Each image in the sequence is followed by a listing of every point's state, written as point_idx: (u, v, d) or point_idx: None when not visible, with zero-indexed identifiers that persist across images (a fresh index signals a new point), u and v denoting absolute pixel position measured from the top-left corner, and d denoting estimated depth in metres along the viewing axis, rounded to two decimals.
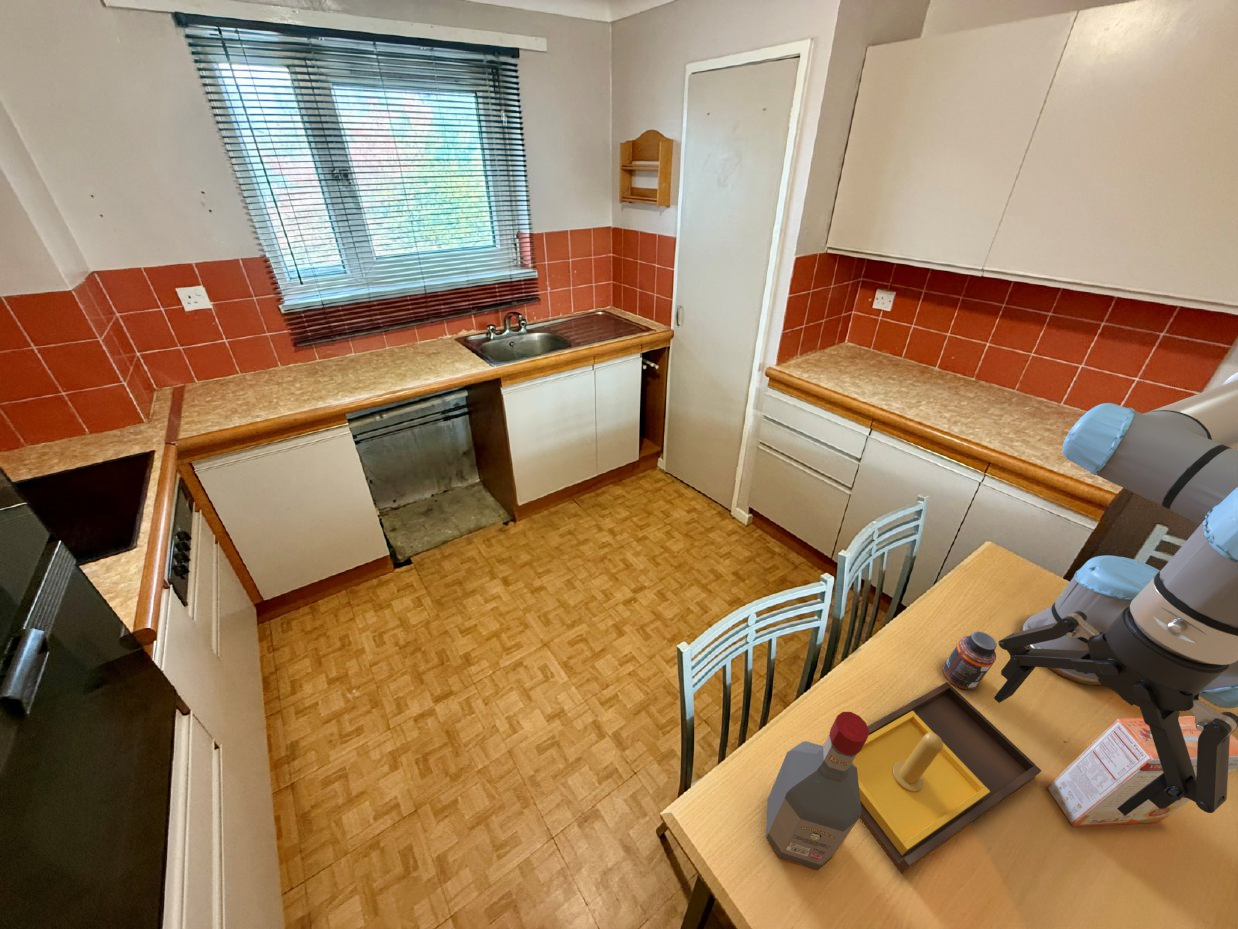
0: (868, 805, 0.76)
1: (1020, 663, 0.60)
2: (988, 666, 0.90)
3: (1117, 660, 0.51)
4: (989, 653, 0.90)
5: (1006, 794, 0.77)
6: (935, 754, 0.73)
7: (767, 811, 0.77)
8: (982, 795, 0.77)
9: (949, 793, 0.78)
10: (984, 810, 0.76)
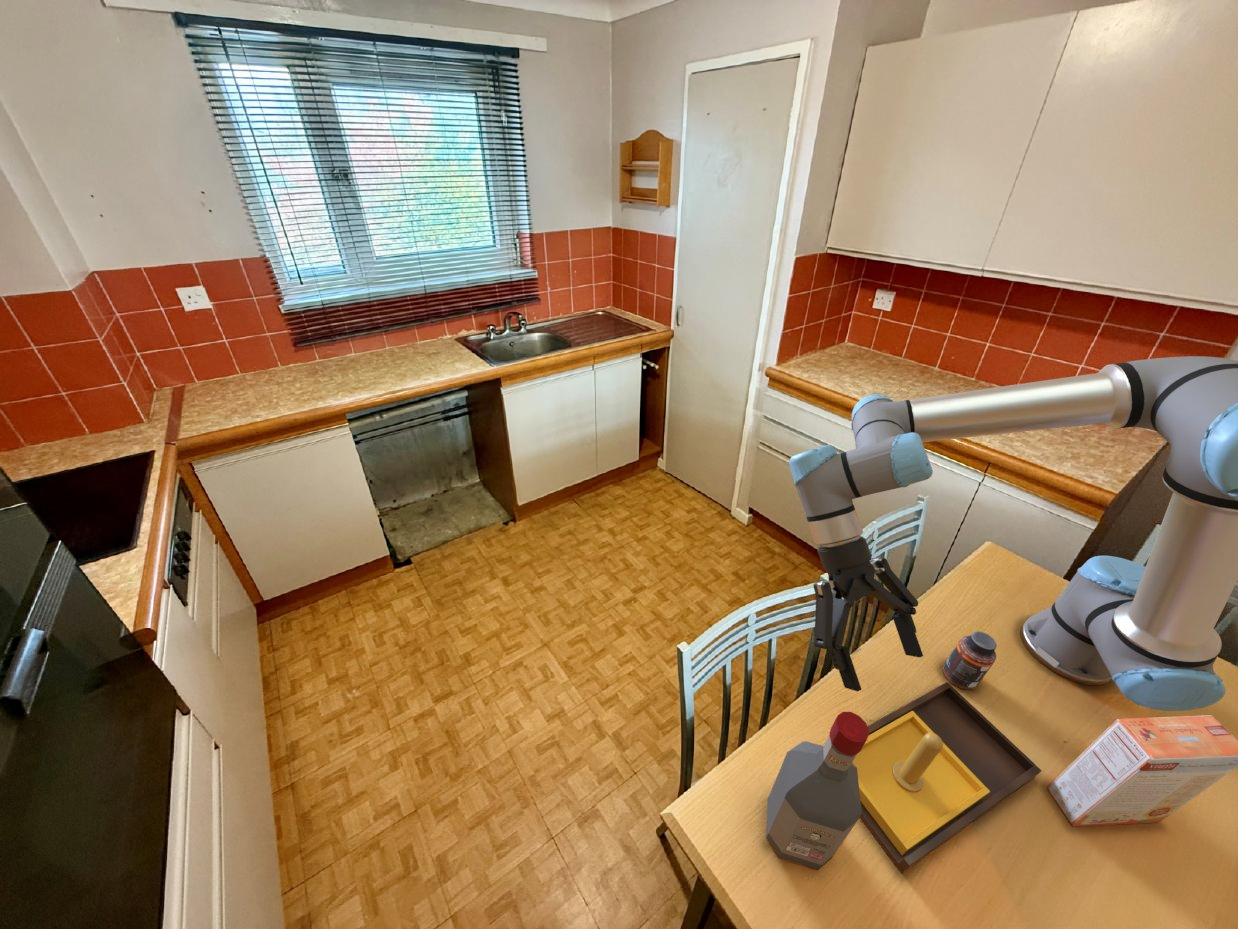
0: (868, 805, 0.76)
1: None
2: (988, 666, 0.90)
3: None
4: (989, 653, 0.90)
5: (1006, 794, 0.77)
6: (935, 754, 0.73)
7: (767, 811, 0.77)
8: (982, 795, 0.77)
9: (949, 793, 0.78)
10: (984, 810, 0.76)
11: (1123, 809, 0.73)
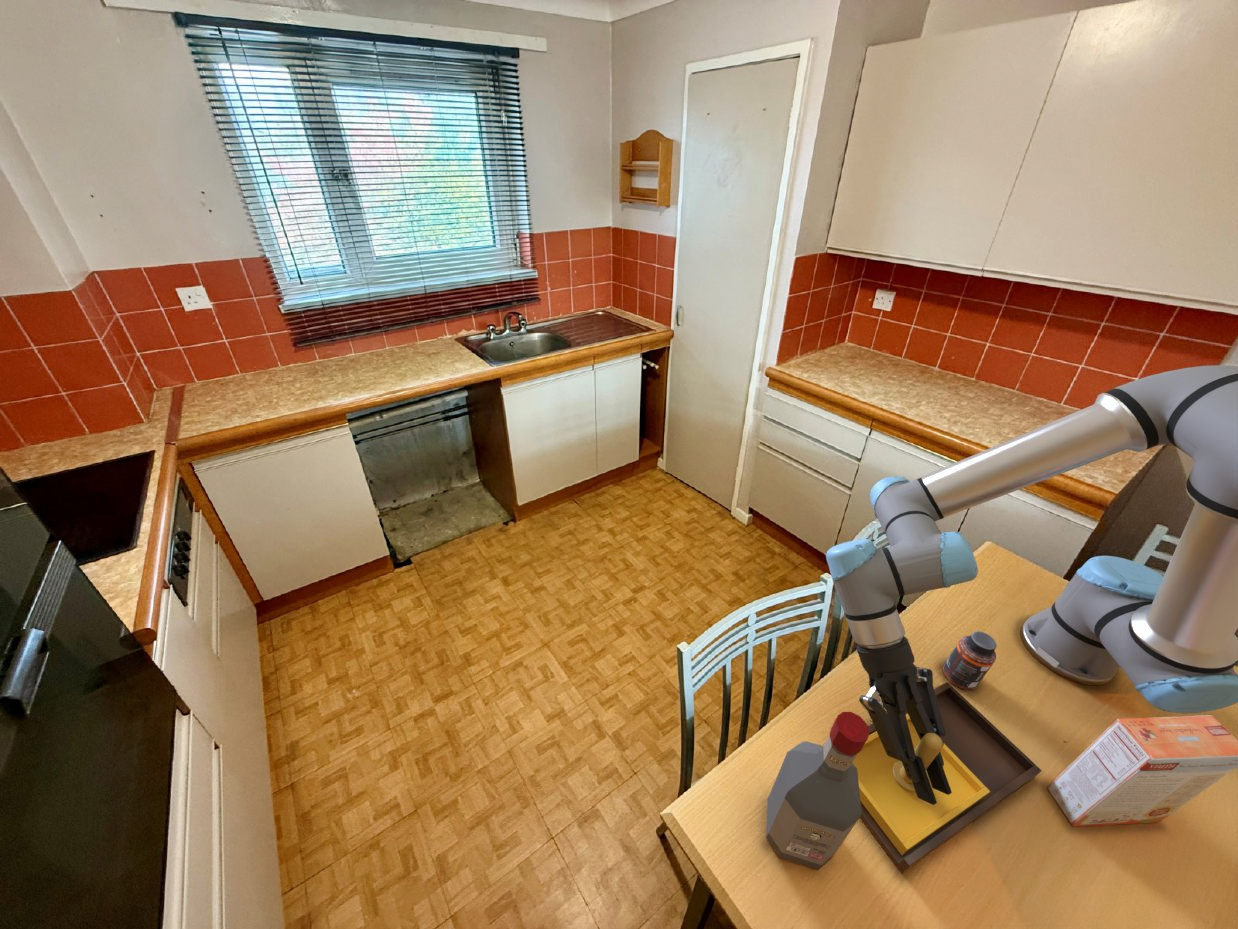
0: (868, 805, 0.76)
1: None
2: (988, 666, 0.90)
3: None
4: (989, 653, 0.90)
5: (1006, 794, 0.77)
6: (935, 754, 0.73)
7: (767, 811, 0.77)
8: (982, 795, 0.77)
9: None
10: (984, 810, 0.76)
11: (1123, 809, 0.73)
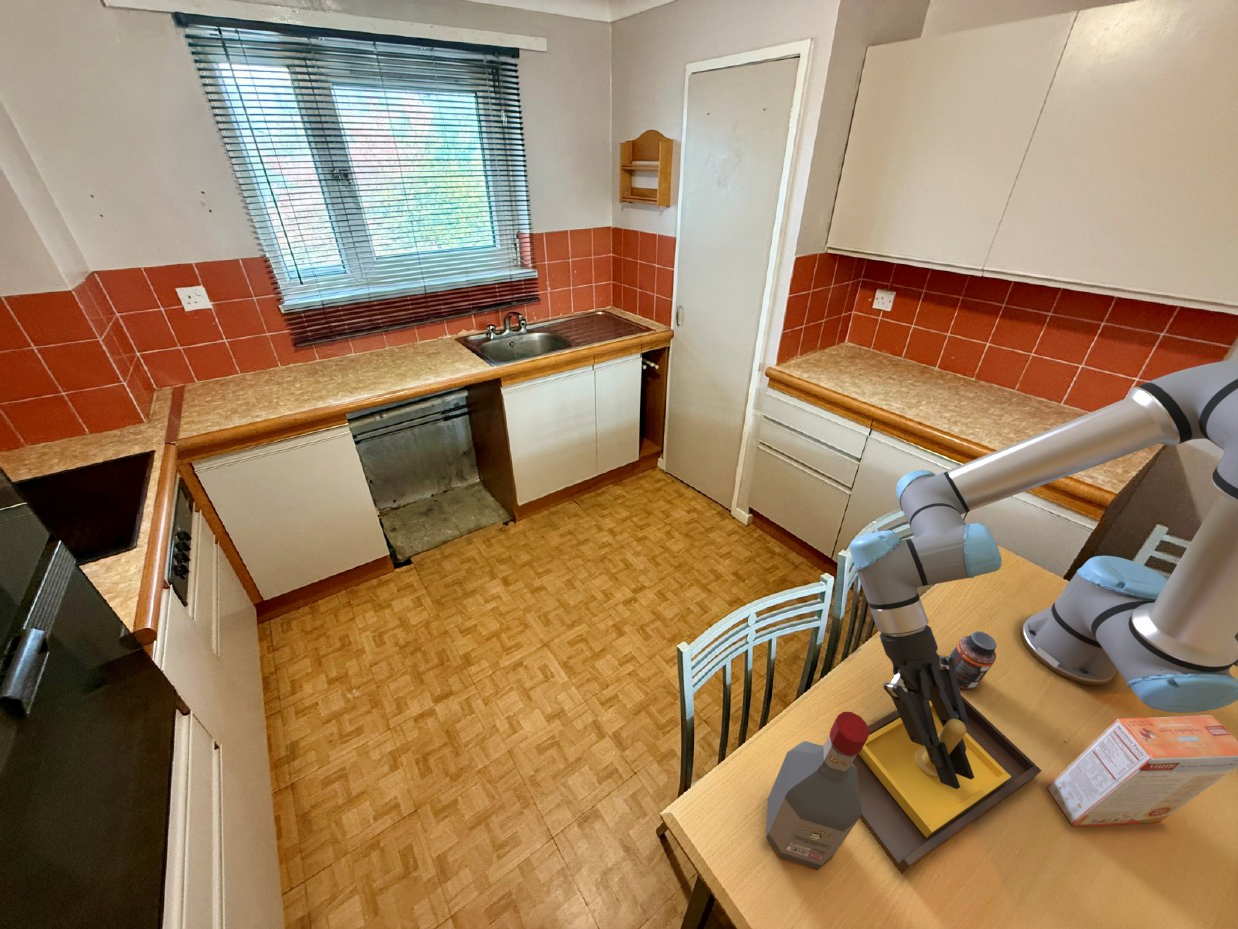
0: (892, 790, 0.78)
1: None
2: (988, 666, 0.90)
3: None
4: (989, 653, 0.90)
5: (1006, 794, 0.77)
6: (958, 739, 0.75)
7: (767, 811, 0.77)
8: (1003, 780, 0.78)
9: None
10: (984, 810, 0.76)
11: (1123, 809, 0.73)
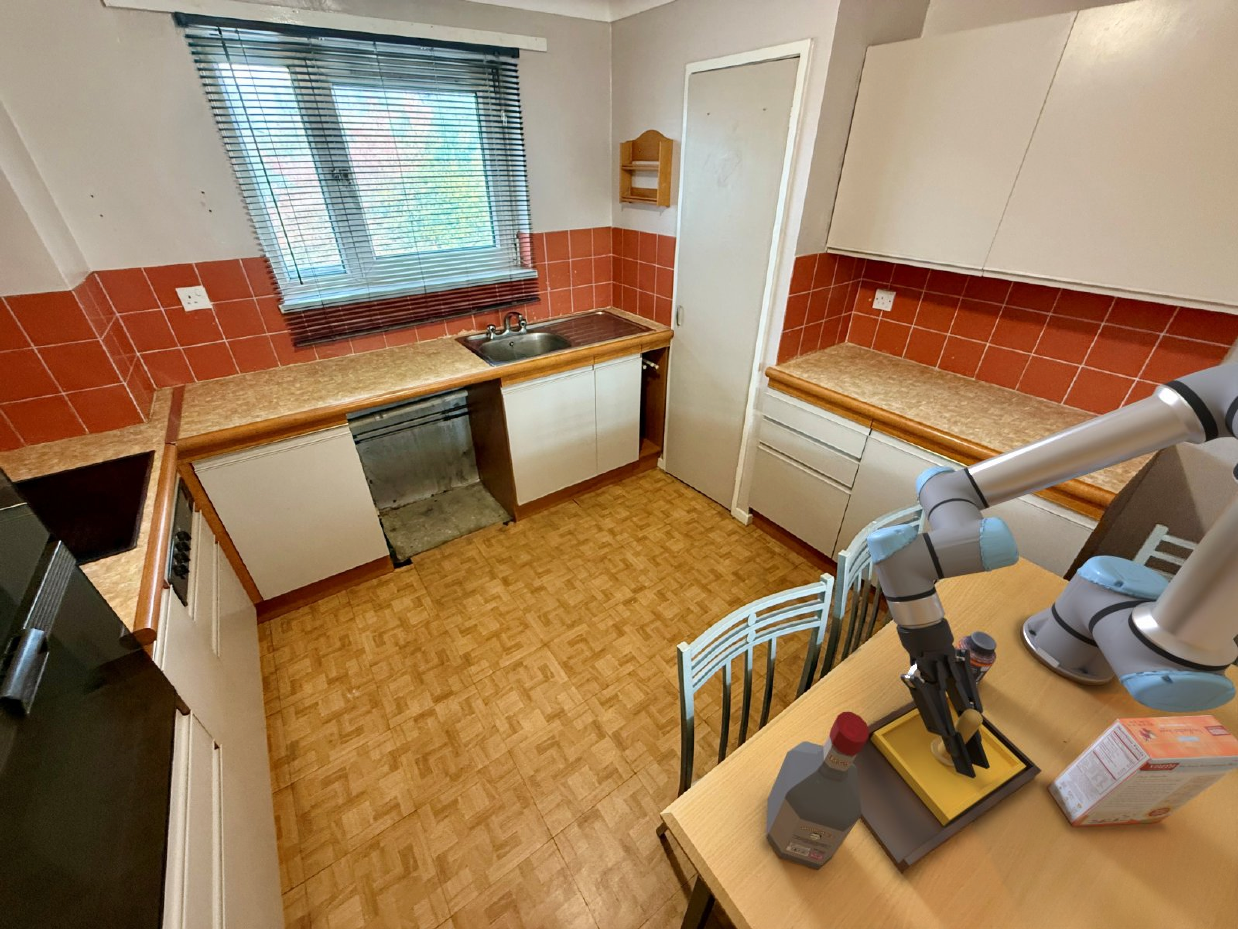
0: (909, 779, 0.79)
1: None
2: (988, 666, 0.90)
3: None
4: (989, 653, 0.90)
5: (1006, 794, 0.77)
6: (975, 729, 0.76)
7: (767, 811, 0.77)
8: (1018, 769, 0.80)
9: None
10: (984, 810, 0.76)
11: (1123, 809, 0.73)
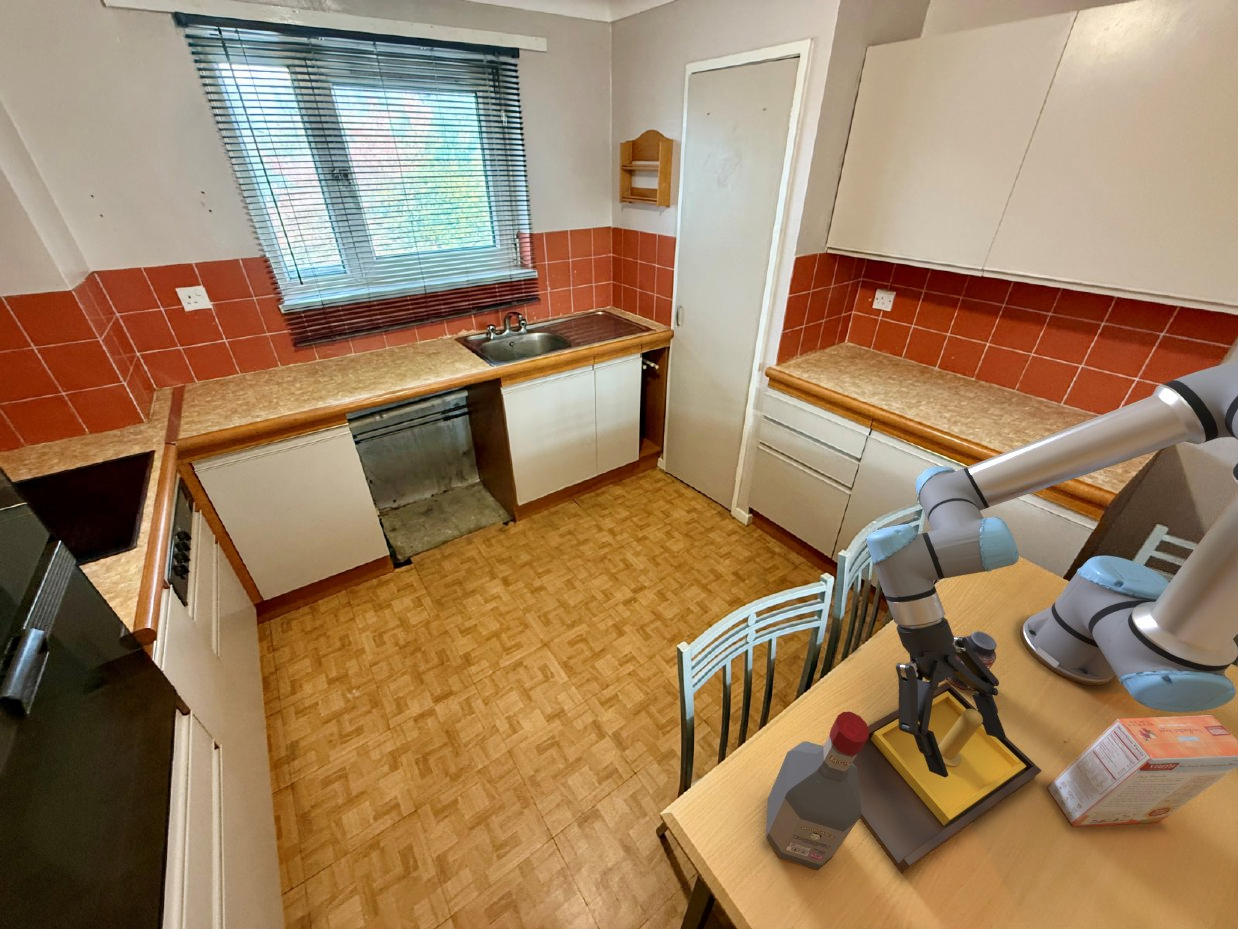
0: (909, 779, 0.79)
1: None
2: (988, 666, 0.90)
3: None
4: (989, 653, 0.90)
5: (1006, 794, 0.77)
6: (975, 729, 0.76)
7: (767, 811, 0.77)
8: (1019, 769, 0.80)
9: (986, 768, 0.81)
10: (984, 810, 0.76)
11: (1123, 809, 0.73)
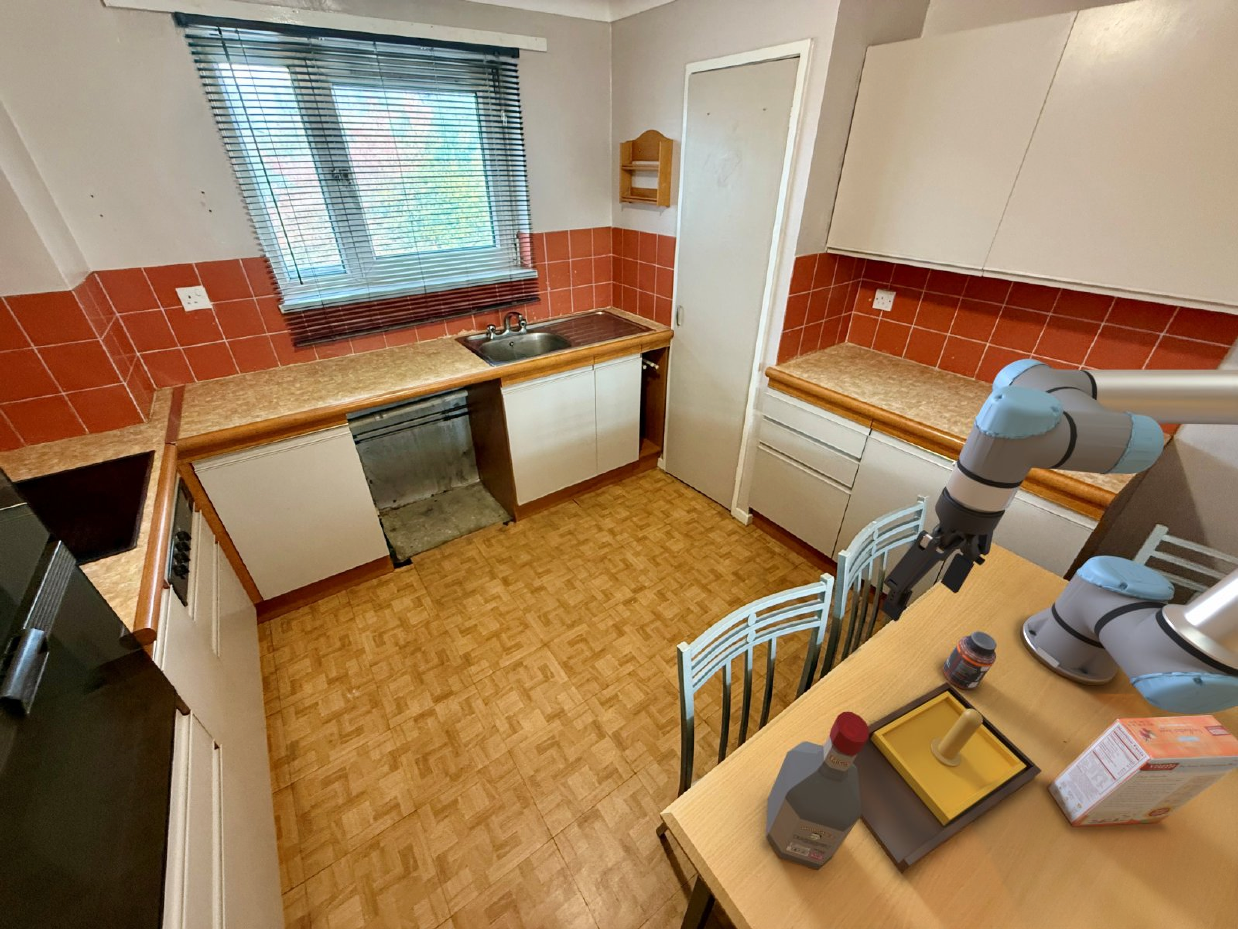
0: (909, 779, 0.79)
1: None
2: (988, 666, 0.90)
3: None
4: (989, 653, 0.90)
5: (1006, 794, 0.77)
6: (975, 729, 0.76)
7: (767, 811, 0.77)
8: (1019, 769, 0.80)
9: (986, 768, 0.81)
10: (984, 810, 0.76)
11: (1123, 809, 0.73)
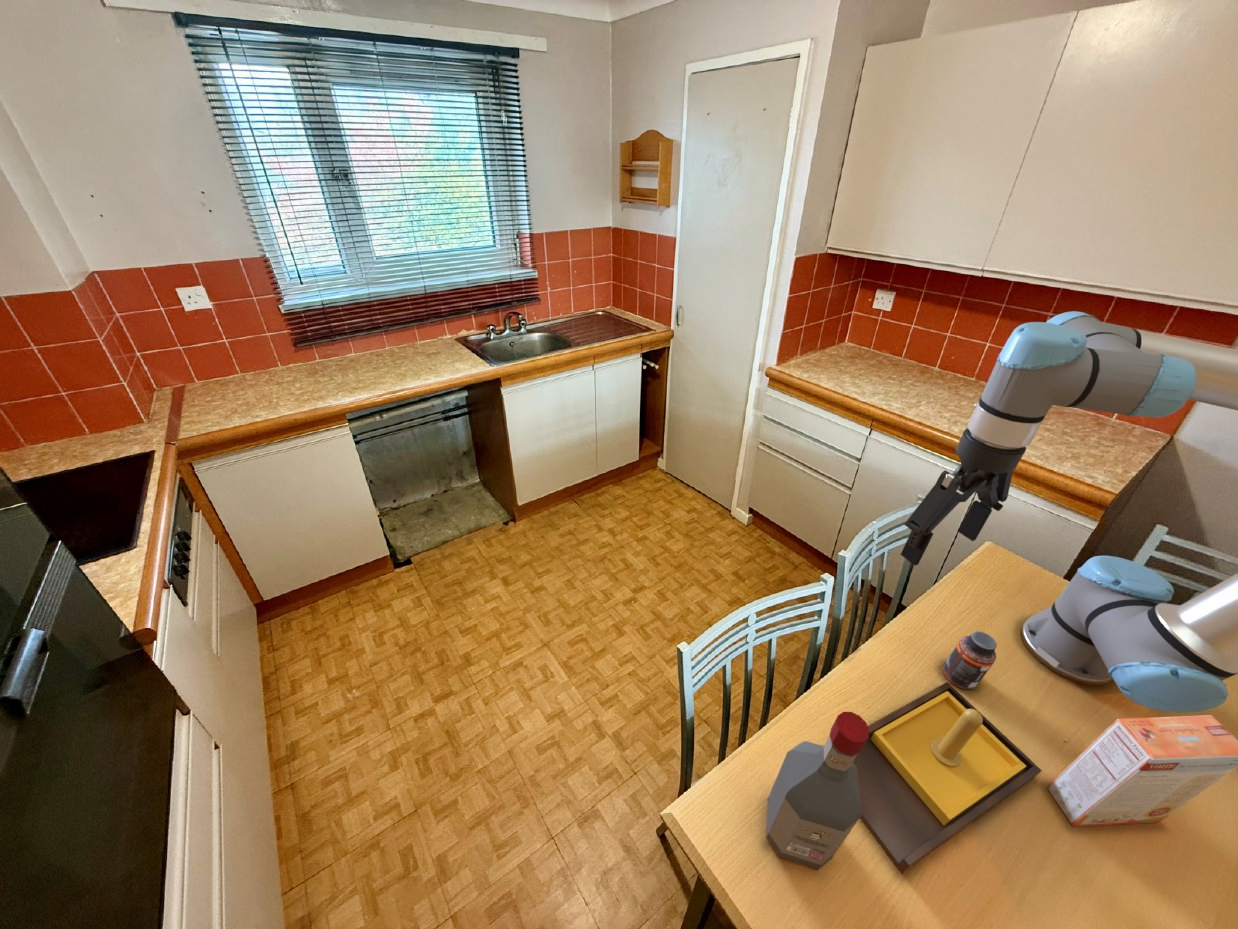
0: (909, 779, 0.79)
1: None
2: (988, 666, 0.90)
3: None
4: (989, 653, 0.90)
5: (1006, 794, 0.77)
6: (975, 729, 0.76)
7: (767, 811, 0.77)
8: (1019, 769, 0.80)
9: (986, 768, 0.81)
10: (984, 810, 0.76)
11: (1123, 809, 0.73)
